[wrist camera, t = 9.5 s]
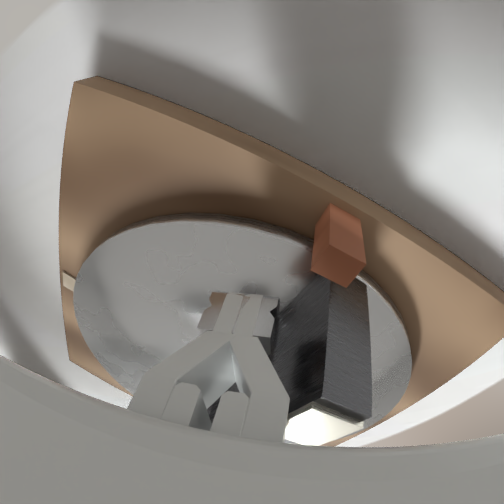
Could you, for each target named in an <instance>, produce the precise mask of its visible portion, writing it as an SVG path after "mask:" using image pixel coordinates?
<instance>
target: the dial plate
mask: <svg viewBox="0 0 504 504" xmlns="http://www.w3.org/2000/svg"><path fill="white" fill-rule="evenodd" d="M179 213H215V214H225V215H231V216H237V217H243V218H249V219H255V220H258V221H262V222H265V223H269V224H272V225H276V226H279V227H283V228H286V229H289V230H291V231H294V232H296V233H299V234H301V235H303V236H306V237H308V238H310V239H313V240H314V243H313V253H312V262H311V271H313V272H315V273H317V274H319V275H321V276H323V277H325V278H327V279H329V280H331V281H333V282H335V283H337V284H339V285H341V286H343V287H345V288H347V287H348V286H349V284H350V283H351V282H352V281H353V280H354V278H355V277H356V276H357V275H358V274H359V273H360V271H361V270H363V271H364V272H365V273H367V274H368V275H369V276H371V277H372V278H373V279H374V280H375V282H376V283H377V284H378V285H379V286H380V287H381V288H382V289H383V290H384V291H385V292H386V293H387V294H388V296H389V297H390V298H391V300H392V301H393V303H394V305H395V306H396V308H397V309H398V311H399V312H400V314H401V316H402V319H403V321H404V324H405V326H406V329H407V331H408V337H409V343H410V350H411V357H412V369H411V377H410V380H409V383H408V386H407V389H406V391H405V393H404V394H403V396H402V398H401V400H400V401H399V402H398V403H397V405H396V406H395V407H394V408H393V409H392V410H391V411H390V412H389V413H388V414H387V415H386V416H384V417H383V418H382V419H381V420H379V421H378V422H376V423H375V424H373V425H371V426H370V427H368V428H366V429H364V430H362V431H360V432H358V433H356V434H353V435H350V436H347V437H344V438H341V439H338V440H334V441H330V442H328V443H325V444H322V445H319V446H331V447H334V446H336V445H339V444H341V443H343V442H345V441H347V440H349V439H351V438H353V437H355V436H357V435H359V434H361V433H363V432H365V431H367V430H369V429H371V428H373V427H375V426H377V425H378V424H380V423H382V422H384V421H386V420H387V419H389V418H391V417H393V416H394V415H396V414H398V413H400V412H401V411H403V410H405V409H406V408H408V407H410V406H411V405H413V404H415V403H416V402H418V401H419V400H421V399H422V398H424V397H426V396H427V395H429V394H430V393H432V392H433V391H435V390H436V389H438V388H439V387H441V386H442V385H443V384H445V383H446V382H448V381H449V380H451V379H452V378H453V377H455V376H456V375H457V374H459V373H460V372H462V371H463V370H464V369H466V368H467V367H468V366H469V365H471V364H472V363H473V362H475V361H476V360H477V359H478V358H480V357H481V356H482V355H483V354H485V353H486V352H487V351H488V350H489V349H491V348H492V347H493V346H494V345H495V344H497V343H498V342H499V341H500V340H501V339H502V338H503V337H504V291H502V290H501V289H500V288H499V287H497V286H496V285H495V284H493V283H492V282H491V281H490V280H488V279H487V278H486V277H484V276H483V275H482V274H480V273H479V272H478V271H476V270H475V269H474V268H472V267H471V266H470V265H468V264H467V263H466V262H464V261H463V260H461V259H460V258H459V257H457V256H456V255H455V254H453V253H452V252H450V251H449V250H447V249H446V248H445V247H443V246H442V245H440V244H439V243H437V242H436V241H434V240H433V239H431V238H430V237H428V236H427V235H425V234H424V233H422V232H421V231H419V230H418V229H416V228H415V227H413V226H412V225H410V224H409V223H407V222H406V221H404V220H402V219H401V218H399V217H398V216H396V215H395V214H393V213H391V212H390V211H388V210H387V209H385V208H383V207H382V206H380V205H378V204H377V203H375V202H373V201H372V200H370V199H368V198H367V197H365V196H363V195H362V194H360V193H358V192H356V191H355V190H353V189H351V188H349V187H348V186H346V185H344V184H342V183H341V182H339V181H337V180H335V179H333V178H332V177H330V176H328V175H326V174H324V173H323V172H321V171H319V170H317V169H315V168H313V167H311V166H309V165H308V164H306V163H304V162H302V161H300V160H298V159H296V158H294V157H292V156H290V155H288V154H286V153H284V152H282V151H280V150H278V149H276V148H274V147H272V146H270V145H268V144H266V143H264V142H262V141H260V140H258V139H256V138H253V137H251V136H249V135H247V134H245V133H243V132H241V131H238V130H236V129H234V128H232V127H229V126H227V125H225V124H223V123H220V122H218V121H216V120H214V119H211V118H209V117H207V116H204V115H202V114H199V113H197V112H195V111H192V110H190V109H187V108H185V107H182V106H180V105H177V104H175V103H172V102H170V101H167V100H164V99H162V98H159V97H157V96H154V95H151V94H148V93H146V92H143V91H140V90H137V89H135V88H132V87H129V86H126V85H123V84H120V83H117V82H114V81H111V80H108V79H105V78H102V77H99V76H95V77H91V78H87V79H83V80H79V81H75V82H74V84H73V89H72V94H71V100H70V105H69V111H68V117H67V124H66V131H65V139H64V147H63V157H62V168H61V181H60V199H59V264H60V283H61V296H62V307H63V316H64V325H65V333H66V340H67V347H68V353H69V359H70V361H72V362H73V363H75V364H77V365H78V366H80V367H81V368H83V369H85V370H86V371H88V372H90V373H91V374H93V375H95V376H97V377H98V378H100V379H102V380H103V381H105V382H107V383H109V384H111V385H112V386H114V387H116V388H118V389H120V390H122V391H124V392H125V393H127V394H129V395H131V396H134V395H132V394H131V393H130V392H129V391H127V390H126V389H125V388H124V387H122V386H121V385H120V384H119V383H118V382H117V381H116V380H115V379H114V378H113V377H112V376H111V375H110V374H109V373H108V372H107V371H106V370H105V369H104V367H103V366H102V365H101V364H100V363H99V361H98V360H97V359H96V357H95V356H94V355H93V353H92V352H91V350H90V348H89V347H88V345H87V344H86V342H85V340H84V338H83V336H82V333H81V331H80V329H79V326H78V323H77V320H76V317H75V311H74V305H73V291H74V285H75V281H76V277H77V275H78V273H79V270H80V268H81V266H82V264H83V263H84V262H85V261H86V259H87V258H88V257H89V256H90V255H91V253H92V252H93V251H94V250H95V249H96V248H97V247H98V246H99V245H100V244H101V243H102V242H103V241H104V240H105V239H107V238H108V237H109V236H111V235H112V234H113V233H115V232H116V231H118V230H120V229H122V228H124V227H126V226H128V225H130V224H133V223H135V222H138V221H141V220H145V219H149V218H152V217H156V216H161V215H170V214H179Z"/></svg>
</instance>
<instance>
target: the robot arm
mask: <svg viewBox="0 0 504 504" xmlns="http://www.w3.org/2000/svg"><path fill="white" fill-rule="evenodd" d="M209 302H210V307H209V308H207V309H205V310H204V312H203V314H202V316H201V319H200V321H199V323H198V326H197V332H198V337H197V338H196V339H194V340H193V341H191V342H190V343H188V344H187V345H185V346H184V347H182V348H181V349H179V350H178V351H176V352H175V353H173V354H172V355H170V356H169V357H167V358H166V359H164V360H163V361H161V362H160V363H158V364H157V365H155V366H154V367H152V368H151V369H149V370H148V371H146V372H145V373H144V375H143V377H142V379H141V381H140V383H139V385H138V387H137V390H136V392H135V394H134V396H133V398H132V400H131V402H130V404H129V406H128V408H127V409H125V408H122V407H119V406H116V405H113V404H110V403H107V402H105V401H102V400H99V399H96V398H94V397H91V396H88V395H86V394H83V393H81V392H78V391H76V390H73V389H71V388H68V387H66V386H64V385H61V384H59V383H57V382H54V381H52V380H50V379H48V378H45V377H43V376H41V375H39V374H37V373H35V372H33V371H31V370H29V369H27V368H25V367H23V366H21V365H19V364H17V363H15V362H13V361H11V360H9V359H7V358H5V357H3V356H2V355H0V504H504V434H500V435H495V436H490V437H485V438H479V439H472V440H466V441H458V442H451V443H443V444H432V445H421V446H405V447H372V448H371V447H367V448H366V447H331V446H314V445H302V444H291V443H284V442H285V435H286V427H287V419H288V411H289V402H290V397H289V396H288V394H287V392H286V390H285V388H284V386H283V384H282V382H281V380H280V379H279V377H278V375H277V373H276V371H275V369H274V367H273V362H274V349H276V346H277V340H278V333H279V317H278V314H279V309H280V298H279V297H272V296H264V295H258V294H247V293H246V294H244V293H236V292H222V291H214V292H212V294H211V296H210V298H209ZM235 382H236V384H237V387H238V389H239V392H240V393H238V392H232V391H227V390H228V389H229V388H230V387H231V386H232V385H233V384H234V383H235ZM226 391H227V392H226ZM220 396H221V398H220V402H219V405H218V408H217V411H216V414H215V417H214V420H213V423H211V420H210V417H209V414H208V411H207V408H209V407H210V406H211V405H212V404H213V403H214V402H215V401H216V400H217V399H218V398H219V397H220Z"/></svg>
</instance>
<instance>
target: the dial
mask: <svg viewBox="0 0 504 504" xmlns="http://www.w3.org/2000/svg"><path fill="white" fill-rule="evenodd" d="M313 243H314V240H313V239H310V238H308V237H306V236H303V235H301V234H299V233H296V232H294V231H291V230H289V229H286V228H283V227H279V226H276V225H272V224H269V223H265V222H262V221H258V220H255V219H249V218H243V217H237V216H231V215H225V214H215V213H179V214H170V215H161V216H156V217H152V218H149V219H145V220H141V221H138V222H135V223H133V224H130V225H128V226H126V227H124V228H122V229H120V230H118V231H116V232H115V233H113V234H112V235H111V236H109V237H108V238H107V239H105V240H104V241H103V242H102V243H101V244H100V245H99V246H98V247H97V248H96V249H95V250H94V251H93V252H92V253H91V255H90V256H89V257H88V258H87V259H86V261H85V262H84V263H83V264H82V266H81V268H80V270H79V273H78V275H77V277H76V281H75V285H74V291H73V305H74V311H75V317H76V320H77V323H78V326H79V329H80V331H81V333H82V336H83V338H84V340H85V342H86V344H87V345H88V347H89V348H90V350H91V352H92V353H93V355H94V356H95V357H96V359H97V360H98V361H99V363H100V364H101V365H102V366H103V367H104V369H105V370H106V371H107V372H108V373H109V374H110V375H111V376H112V377H113V378H114V379H115V380H116V381H117V382H118V383H119V384H120V385H121V386H122V387H124V388H125V389H126V390H127V391H129V392H130V393H131V394H132V395H134V394H135V392H136V390H137V387H138V385H139V383H140V381H141V379H142V377H143V375H144V373H145V372H146V371H148V370H149V369H151V368H152V367H154V366H155V365H157V364H158V363H160V362H161V361H163V360H164V359H166V358H167V357H169V356H170V355H172V354H173V353H175V352H176V351H178V350H179V349H181V348H182V347H184V346H185V345H187V344H188V343H190V342H191V341H193V340H194V339H196V338H197V337H198V332H197V326H198V323H199V321H200V319H201V316H202V314H203V312H204V310H205V309H207V308H209V307H210V302H209V298H210V296H211V294H212V292H214V291H222V292H236V293H244V294H246V293H247V294H258V295H264V296H272V297H279V298H280V309H279V314H278V317H279V333H278V340H277V346H276V349H274V362H273V367H274V369H275V371H276V373H277V375H278V377H279V379H280V380H281V382H282V384H283V386H284V388H285V390H286V392H287V394H288V396H289V397H290V402H289V411H288V419H287V427H286V435H285V442H284V443H291V444H302V445H314V446H319V445H322V444H325V443H328V442H330V441H334V440H338V439H341V438H344V437H347V436H350V435H353V434H356V433H358V432H360V431H362V430H364V429H366V428H368V427H370V426H371V425H373V424H375V423H376V422H378V421H379V420H381V419H382V418H383V417H384V416H386V415H387V414H388V413H389V412H390V411H391V410H392V409H393V408H394V407H395V406H396V405H397V403H398V402H399V401H400V400H401V398H402V396H403V394H404V393H405V391H406V389H407V386H408V383H409V380H410V377H411V369H412V357H411V350H410V343H409V337H408V331H407V329H406V326H405V324H404V321H403V319H402V316H401V314H400V312H399V311H398V309H397V308H396V306H395V305H394V303H393V301H392V300H391V298H390V297H389V296H388V294H387V293H386V292H385V291H384V290H383V289H382V288H381V287H380V286H379V285H378V284H377V283H376V282H375V280H374V279H373V278H372V277H371V276H369V275H368V274H367V273H365V272H364V271H363V270H361V271H360V273H359V274H358V275H357V276H356V277H355V278H354V280H353V281H352V282H351V283H350V284H349V286H348V287H347V288H345V287H343V286H341V285H339V284H337V283H335V282H333V281H331V280H329V279H327V278H325V277H323V276H321V275H319V274H317V273H315V272H313V271H311V262H312V253H313ZM227 391H232V392H238V393H240V392H239V389H238V387H237V384H236V382H235V383H234V384H233V385H232V386H231V387H230V388H229V389H228V390H227ZM227 391H226V392H227ZM220 398H221V396H220V397H219V398H218V399H217V400H216V401H215V402H214V403H213V404H212V405H211V406H210V407H209V408H207V411H208V414H209V417H210V420H211V423H213V420H214V417H215V414H216V411H217V408H218V405H219V402H220Z"/></svg>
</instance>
